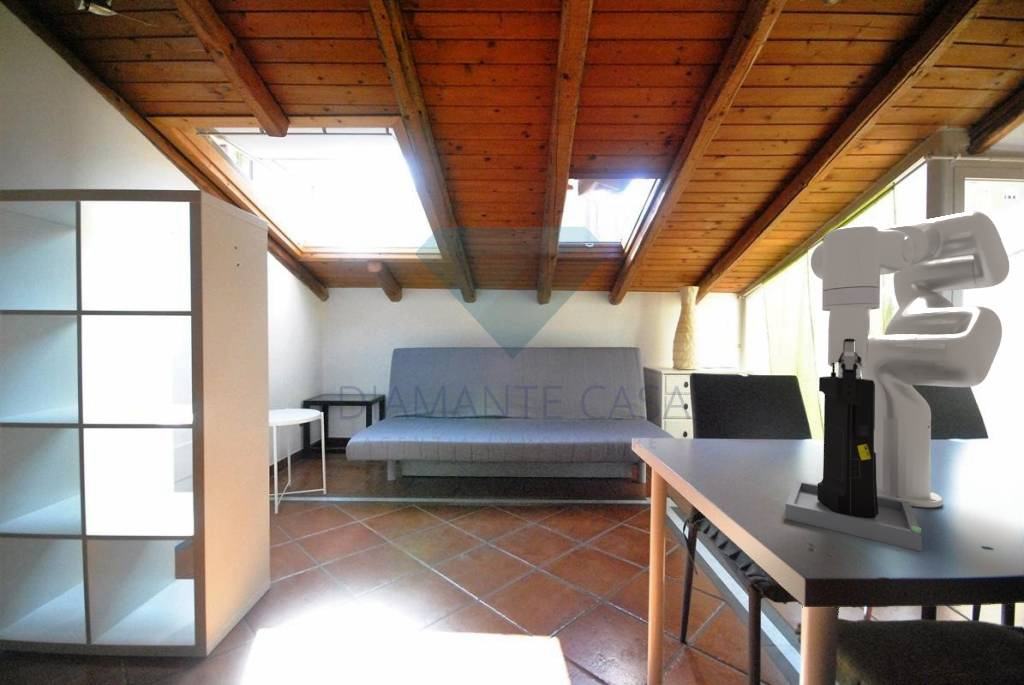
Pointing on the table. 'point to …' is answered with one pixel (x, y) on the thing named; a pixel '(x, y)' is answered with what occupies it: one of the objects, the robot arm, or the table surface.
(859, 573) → the table surface
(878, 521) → the tray
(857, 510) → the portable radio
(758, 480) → the table surface
